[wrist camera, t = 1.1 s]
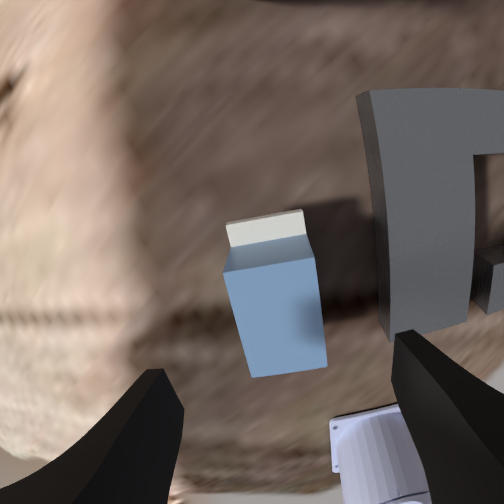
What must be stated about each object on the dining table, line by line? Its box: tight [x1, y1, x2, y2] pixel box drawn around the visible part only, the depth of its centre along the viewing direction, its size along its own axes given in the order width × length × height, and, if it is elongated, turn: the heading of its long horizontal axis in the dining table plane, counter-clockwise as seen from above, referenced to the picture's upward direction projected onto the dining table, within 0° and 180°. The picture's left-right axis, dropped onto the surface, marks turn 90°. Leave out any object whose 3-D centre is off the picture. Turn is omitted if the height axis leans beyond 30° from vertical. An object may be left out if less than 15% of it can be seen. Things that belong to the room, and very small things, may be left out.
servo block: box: [223, 209, 327, 378], centre depth 16 cm, size 8×4×6 cm, turn 12°
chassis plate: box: [356, 88, 504, 342], centre depth 15 cm, size 14×16×2 cm
